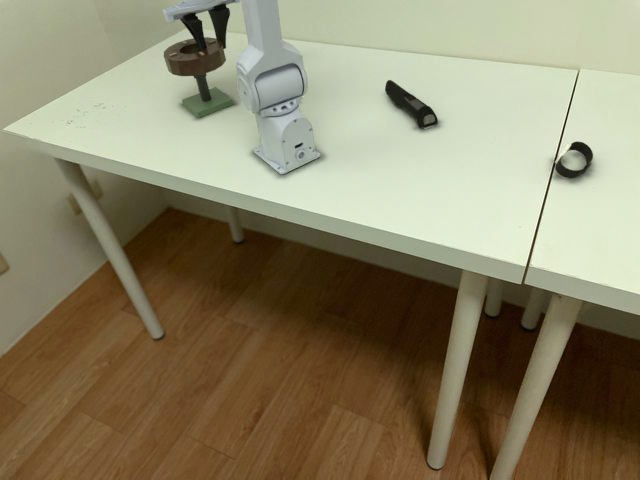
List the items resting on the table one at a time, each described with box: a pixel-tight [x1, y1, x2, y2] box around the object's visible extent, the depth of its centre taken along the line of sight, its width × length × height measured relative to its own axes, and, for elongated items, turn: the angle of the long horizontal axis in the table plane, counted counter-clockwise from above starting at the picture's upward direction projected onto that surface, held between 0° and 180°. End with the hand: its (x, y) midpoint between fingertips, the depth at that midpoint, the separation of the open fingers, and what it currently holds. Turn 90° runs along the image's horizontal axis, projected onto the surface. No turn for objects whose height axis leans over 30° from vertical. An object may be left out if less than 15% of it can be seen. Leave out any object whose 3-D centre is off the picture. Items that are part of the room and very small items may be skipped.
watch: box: [554, 141, 594, 179], centre depth 69 cm, size 8×5×4 cm, turn 140°
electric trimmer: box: [384, 79, 439, 130], centre depth 87 cm, size 4×16×3 cm, turn 21°
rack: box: [181, 73, 234, 119], centre depth 95 cm, size 8×8×7 cm
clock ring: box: [163, 36, 227, 77], centre depth 90 cm, size 11×11×3 cm
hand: (213, 50), depth 92 cm, fingers closed on clock ring, 3 cm apart
